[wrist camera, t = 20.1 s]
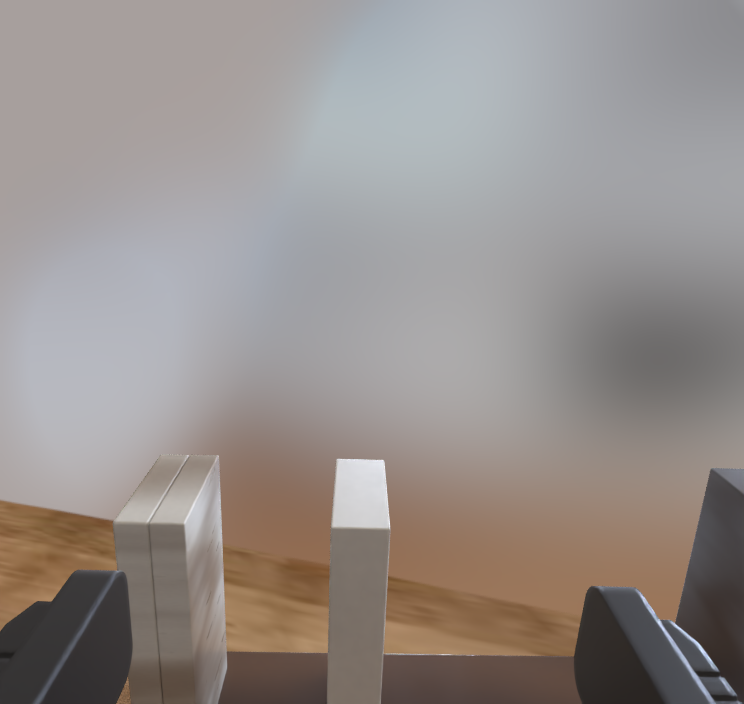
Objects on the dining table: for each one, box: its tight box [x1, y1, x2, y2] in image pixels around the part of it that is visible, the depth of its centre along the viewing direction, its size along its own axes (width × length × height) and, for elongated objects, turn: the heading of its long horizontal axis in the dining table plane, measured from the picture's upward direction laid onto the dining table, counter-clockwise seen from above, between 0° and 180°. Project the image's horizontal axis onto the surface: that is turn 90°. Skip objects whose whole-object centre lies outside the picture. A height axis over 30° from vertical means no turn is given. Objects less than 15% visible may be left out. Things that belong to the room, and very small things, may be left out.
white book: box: [327, 459, 390, 704], centre depth 23 cm, size 5×2×11 cm, turn 1°
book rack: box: [113, 455, 744, 704], centre depth 24 cm, size 7×27×12 cm, turn 92°
